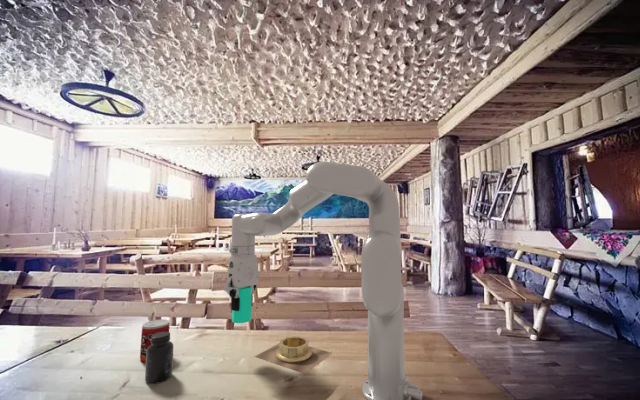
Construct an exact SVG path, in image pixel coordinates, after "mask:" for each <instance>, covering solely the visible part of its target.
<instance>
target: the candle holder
mask: <svg viewBox="0 0 640 400" xmlns="http://www.w3.org/2000/svg"><path fill="white" fill-rule="evenodd" d="M278 344H279V348H278V349H277V350H276V358H277V359H278V360H279V361H281V362H284V363H301V362H305V361H307V360H309V359H310V358H311V357H312V350H311V348H310V347H311V346H310V345H309V340H308V339H307V338H306V337H302V336H295V335H294V336H288V337H284V338H281V340H280V341H279V343H278Z"/></svg>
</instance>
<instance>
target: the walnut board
mask: <svg viewBox="0 0 640 400" xmlns="http://www.w3.org/2000/svg"><path fill="white" fill-rule="evenodd" d="M309 347H310V348H311V350H312V357H311V358H310V359H309V360H307V361H305V362H301V363H284V362H281V361H279V360H278V359H277V358H276V350H277V349H278V348H279V343H277V344H275V345H273V346H272V347H269V348H268V349H265V350H263V351H262V352H260V353H258V354H257V355H255V356H254V358H258V359H260V360H263V361H266V362H269V363H272V364H275V365H277V366H281V367H283V368H287V369H289V370H292V371H295V372H298V373H301V374H304V375H305V374H307V373H309V372H310V371H311V370H313V368H315V367H317V365H319V364H320V363H322V362H323V361H324V360H325V359H326V358H328V357H329V356H330V355H332V352H330V351H326V350H323V349H319V348H315V347H312V346H309Z"/></svg>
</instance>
